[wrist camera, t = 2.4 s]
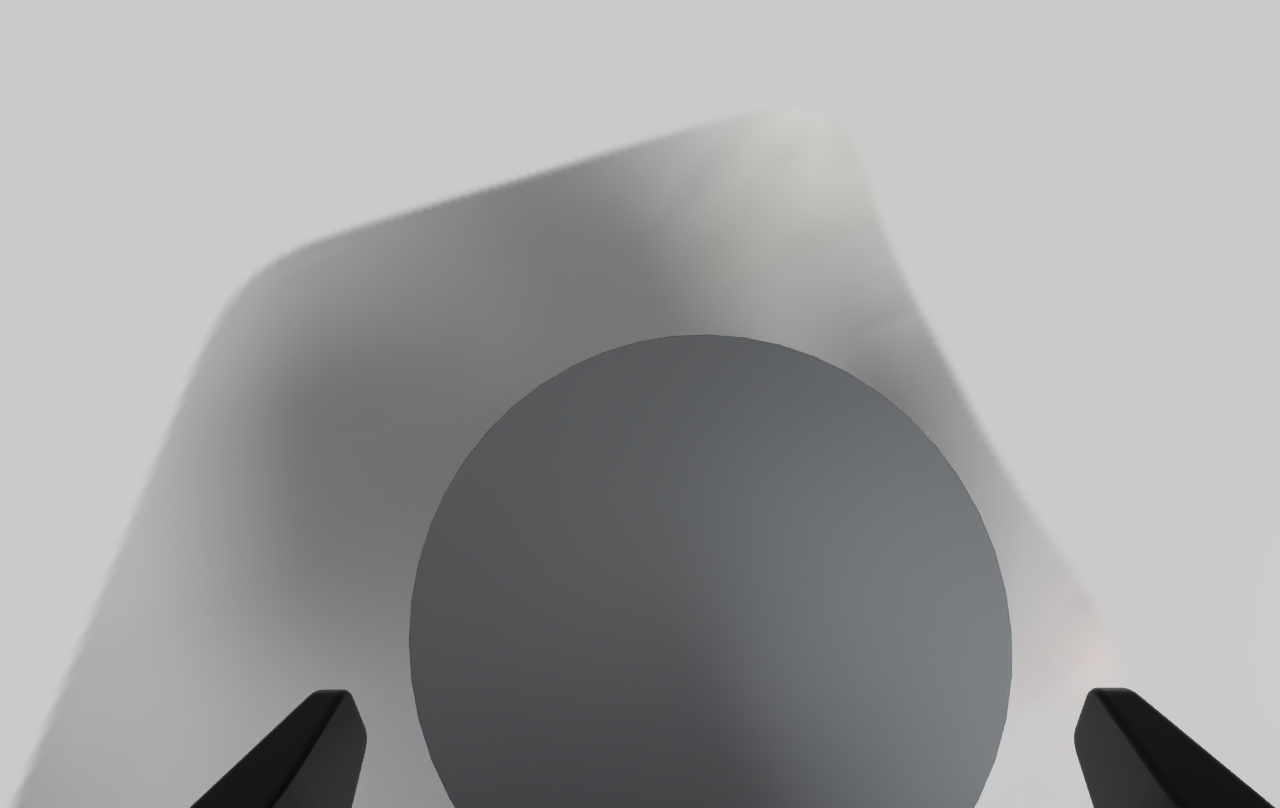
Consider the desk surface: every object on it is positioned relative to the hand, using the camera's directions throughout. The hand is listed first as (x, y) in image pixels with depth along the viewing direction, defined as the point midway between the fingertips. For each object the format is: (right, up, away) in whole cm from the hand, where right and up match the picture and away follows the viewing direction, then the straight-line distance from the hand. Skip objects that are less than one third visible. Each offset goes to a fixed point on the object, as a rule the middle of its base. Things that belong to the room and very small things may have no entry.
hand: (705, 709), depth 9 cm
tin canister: (+1, -1, +9) cm, 9 cm away
